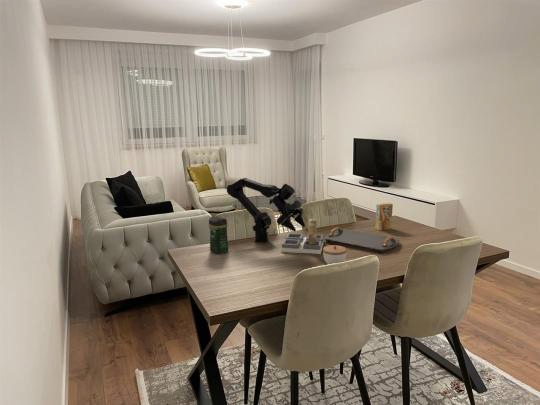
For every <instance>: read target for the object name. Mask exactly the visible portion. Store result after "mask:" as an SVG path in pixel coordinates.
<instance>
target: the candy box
mask: <svg viewBox="0 0 540 405" xmlns="http://www.w3.org/2000/svg"><path fill="white" fill-rule="evenodd" d="M393 206H394V205H393V203H391V202H383V203H376V207H375V208H376V209H375V210H376V211H375V229H376V230H378V231H383V230H384V231H385V230H391V229H392V223H393V221H392V220H393V209H394V208H393Z"/></svg>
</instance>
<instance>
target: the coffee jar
mask: <svg viewBox="0 0 540 405" xmlns="http://www.w3.org/2000/svg"><path fill="white" fill-rule="evenodd" d="M208 227H209V251H210V252H211V253H212V254H214V255H225V254H227V253H228V252H229V243H228V242H229V241H228V220H227V219H226V218H223V217H221V216H218V215H215V216H210V217H209V219H208Z"/></svg>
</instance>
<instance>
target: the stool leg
mask: <svg viewBox="0 0 540 405" xmlns="http://www.w3.org/2000/svg"><path fill="white" fill-rule="evenodd" d="M317 225H318V224H317V219H314V218H313V219H310V218H309V219H308V234H309V245H316V235H318V233H317Z"/></svg>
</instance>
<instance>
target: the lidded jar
mask: <svg viewBox="0 0 540 405" xmlns="http://www.w3.org/2000/svg"><path fill="white" fill-rule="evenodd" d="M322 251H323V253H322V254H323V259H324V261H325V263H326V264H327V265H328V264H332V263H338V262H343V261H344V262H345V261H346V258H347V248H346V247H345V246H342V245H336V244H335V245H334V244H333V245H332V244H331V245H326V246H323V247H322Z"/></svg>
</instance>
